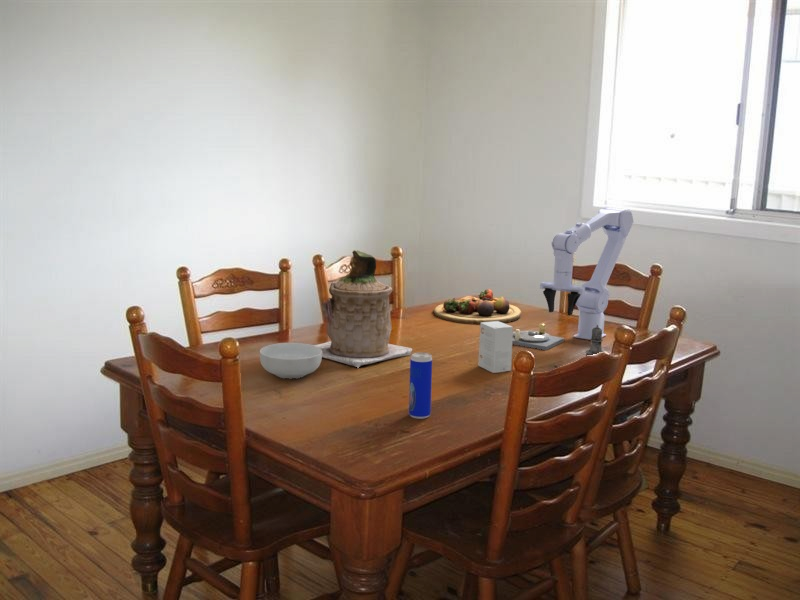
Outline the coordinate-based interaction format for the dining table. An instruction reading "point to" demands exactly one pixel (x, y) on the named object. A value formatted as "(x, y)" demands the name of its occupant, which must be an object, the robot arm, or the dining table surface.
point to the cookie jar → (359, 317)
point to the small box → (495, 346)
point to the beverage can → (420, 385)
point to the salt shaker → (595, 342)
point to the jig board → (539, 345)
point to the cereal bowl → (290, 359)
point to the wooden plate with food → (478, 309)
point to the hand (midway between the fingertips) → (560, 313)
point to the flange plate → (534, 335)
